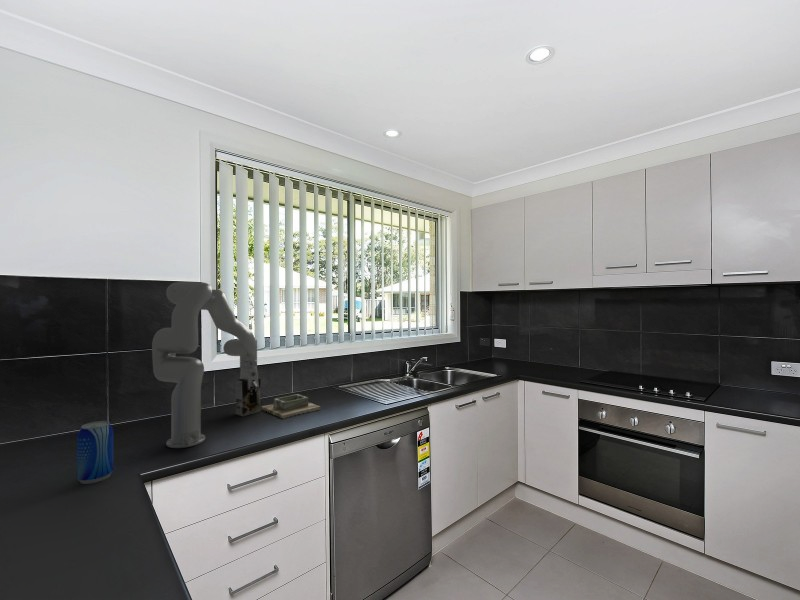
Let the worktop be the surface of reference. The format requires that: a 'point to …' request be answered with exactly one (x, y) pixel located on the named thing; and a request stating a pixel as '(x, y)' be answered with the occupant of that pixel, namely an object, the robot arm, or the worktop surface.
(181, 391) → the robot arm
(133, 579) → the worktop surface
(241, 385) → the coffee box
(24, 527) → the worktop surface
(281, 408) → the collar board
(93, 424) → the beer can
